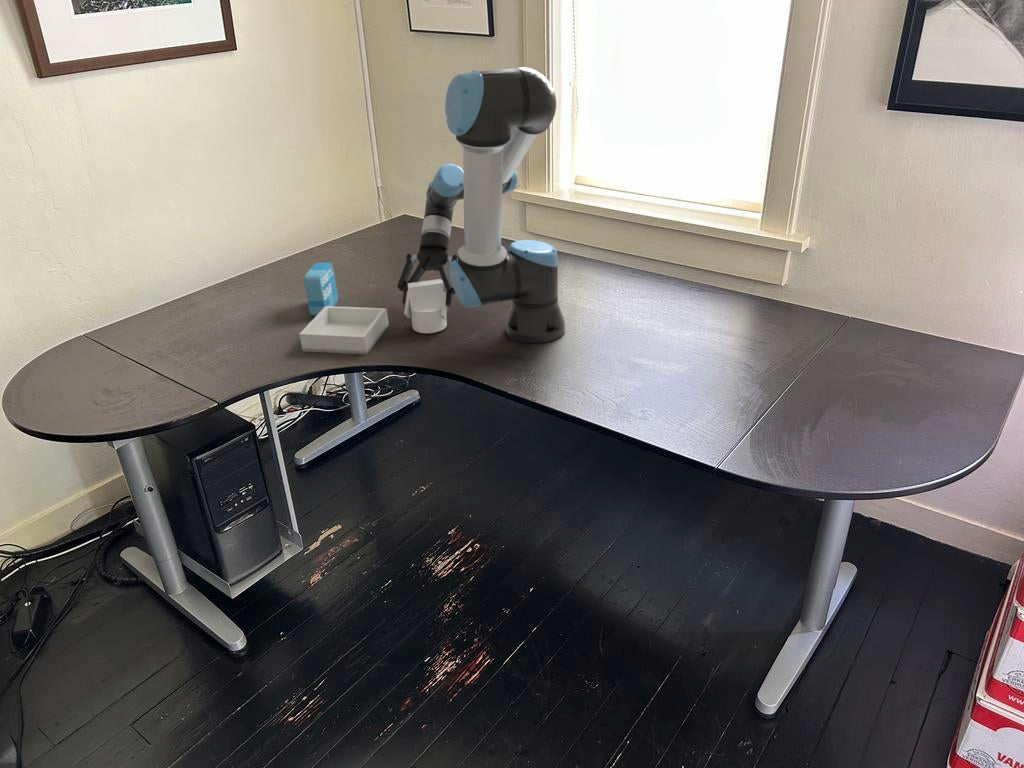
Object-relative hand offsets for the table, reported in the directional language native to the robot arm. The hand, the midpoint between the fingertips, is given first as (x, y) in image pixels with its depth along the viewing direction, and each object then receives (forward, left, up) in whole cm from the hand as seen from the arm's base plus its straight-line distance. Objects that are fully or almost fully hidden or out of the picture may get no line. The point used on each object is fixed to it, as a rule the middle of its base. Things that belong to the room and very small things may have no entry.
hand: (425, 316), depth 191 cm
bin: (+20, +5, -5) cm, 21 cm away
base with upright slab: (0, -3, -4) cm, 5 cm away
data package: (+33, -12, -5) cm, 36 cm away
